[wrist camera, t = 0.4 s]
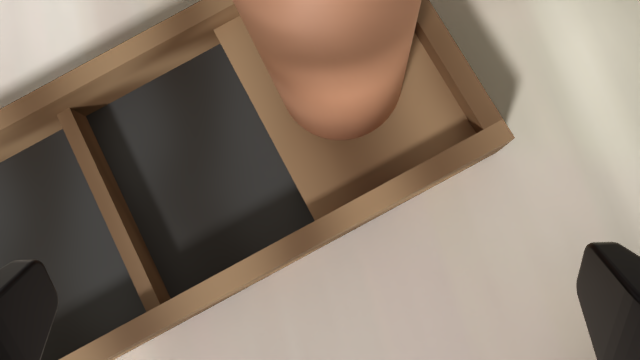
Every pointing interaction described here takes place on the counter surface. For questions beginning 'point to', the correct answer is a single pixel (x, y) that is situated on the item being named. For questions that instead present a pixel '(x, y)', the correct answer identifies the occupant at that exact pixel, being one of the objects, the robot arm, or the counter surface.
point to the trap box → (208, 173)
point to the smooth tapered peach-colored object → (334, 58)
